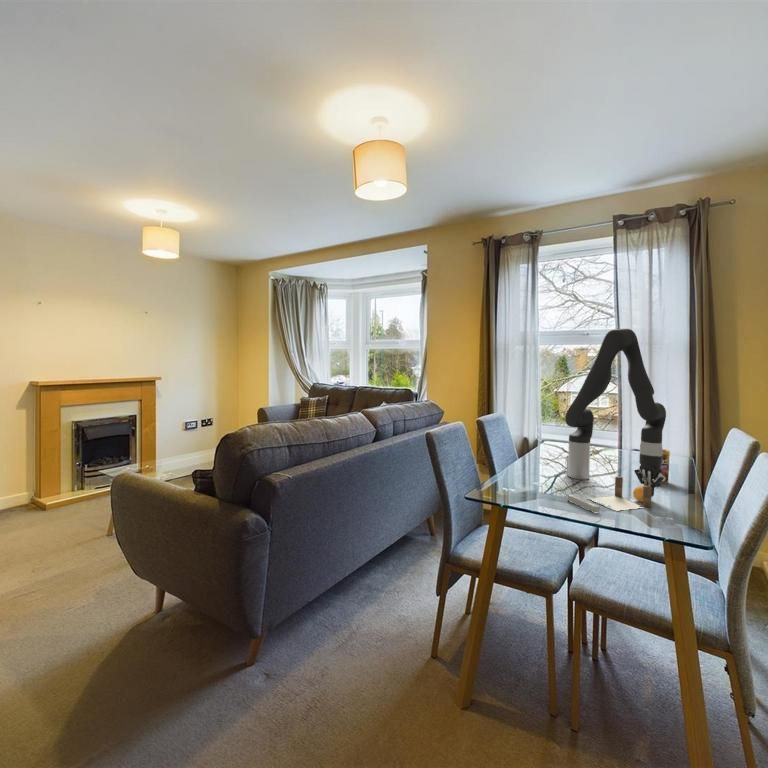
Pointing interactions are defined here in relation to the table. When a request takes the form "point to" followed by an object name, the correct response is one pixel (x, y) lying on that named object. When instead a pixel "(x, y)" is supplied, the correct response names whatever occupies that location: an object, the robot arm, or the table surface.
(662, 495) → the table surface
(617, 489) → the post
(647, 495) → the post
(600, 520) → the table surface
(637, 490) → the ball
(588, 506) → the wall
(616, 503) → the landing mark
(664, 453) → the candy box
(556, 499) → the table surface
